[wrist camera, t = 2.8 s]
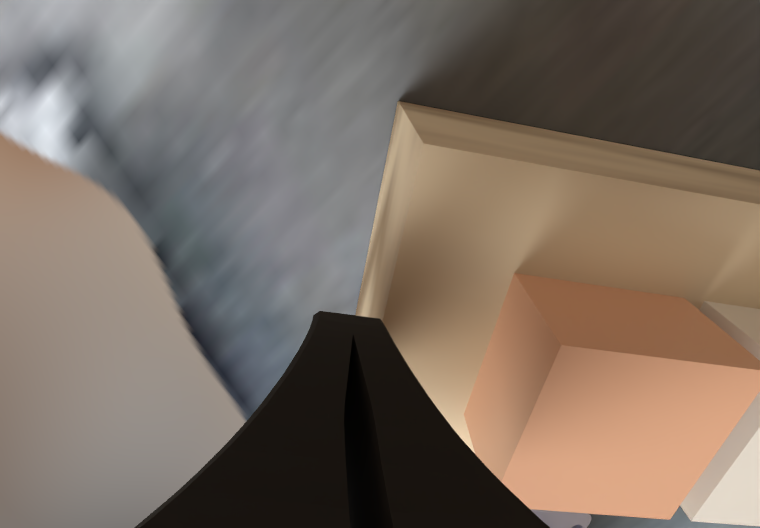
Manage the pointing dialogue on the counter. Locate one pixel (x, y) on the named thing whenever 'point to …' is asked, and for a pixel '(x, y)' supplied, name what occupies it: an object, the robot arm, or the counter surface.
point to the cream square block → (732, 441)
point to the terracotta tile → (605, 397)
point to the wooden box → (539, 233)
